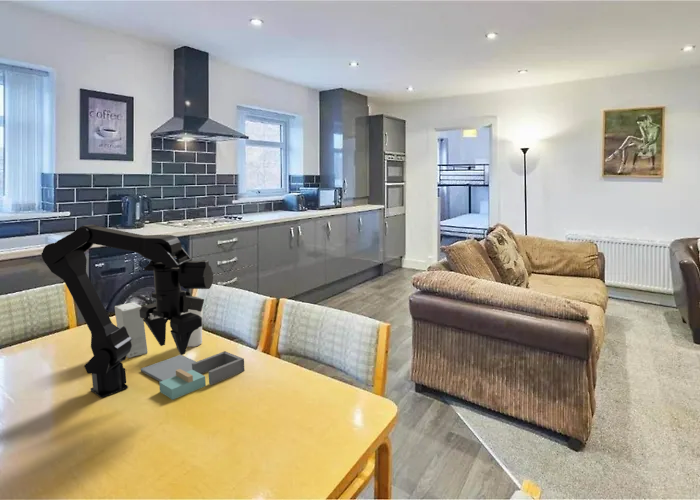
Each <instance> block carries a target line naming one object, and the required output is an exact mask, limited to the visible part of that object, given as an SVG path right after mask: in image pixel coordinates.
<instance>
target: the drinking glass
mask: <svg viewBox="0 0 700 500" xmlns="http://www.w3.org/2000/svg"><path fill="white" fill-rule="evenodd" d="M197 297H198V298H201V299H203V298H202V297H200V296H197ZM203 308H204V306H203V307H202V311H201V312H200V311H197V310H190V309H188V312H185V313H181V315H183V314H186V313H190V312H191V313H194V314H196V315H199V316H200V317H202V319H203V317H204V316H203V314H204V310H203ZM201 344H203V325H202V326H201V327H199V328H198V329H196V330H194V331H193V332H192V334H191V336H190V339H189V342H188V345H187V347H190V348H192V347H193V348H194V347H198V346H200V345H201Z"/></svg>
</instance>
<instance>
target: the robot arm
mask: <svg viewBox="0 0 700 500" xmlns="http://www.w3.org/2000/svg"><path fill="white" fill-rule="evenodd" d="M93 245H97V246H98V245H99V246H104V247H108V248H109V247H110V248H113V249H119V250H124V251H129V252H134V253H136V254H138V255H140V256H142V257H143V258H144V259H148V260H150V261H149V263H148V264H147V265H146V266H145V267H144V268H143V270H144V271H146V272H150V271H151V272H153V281H154V282H153V283H154V292H151V298H153V299H155V302H154V303H149V304H145V305H142V308H141V309H140V310H139V311H140V317H141V318H143V321H144V324H145V325H146V326H147V328H148V329H149V331H150V332H151V333H152V335H153V337H154V338H155V340H156V341H157V343H158V345H159V346H160V347H162V346H165V345H166V335H167V333H166V331H167V323H168V321H170V322H169V327H170V329H171V330H170V331H169V332H170V334H171V336H172V339H173V341H174V343H175V345H176V349H177V351H178V353H179V355H183V356H184V355H185V354H186V352H187V349H188V348H187V347H188V346H187V345H188V342H189V339H190V336H191V334H192V332H193V331H194V330H196V329H198V328H199V327H201V326H202V327H203V318H202V317H200V316H199V315H196V314H194V313H191V312H190V313H186V314H183V315H181V313H185V312H188V309H190V310H197V311H200V312H201V311H202V307H203V308H204V302H205V299H204V298H202V297H201V298H202V299H201V298H198V297H199V296H192V295H191V292H190V291H187V290H191V289H192V290H210V289H211V288H212V286H213V282H214V272H213V270H212V267H211V266H210V264H209V262H210V261H209V260H208V259H206V260H205V259H204V260H202V259H201V260H193V259H192V258H191V256H190V255H189V254H188V252H187V251H186V250H185V249H184V247H183V246H182V243H181V241H180V240H179V238H178V237H177V236H175V235H173V234H151V235H150V234H145V235H144V234H140V233H133V232H129V231H125V230H118V229H114V228H109V227H103V226H99V225H97V224H87V225H82V226H81V225H80V226H79V227H78V228H76V229H75V230H74V231H73V232H71V233H70V234H68V235H66V236H64V237H62V238H61V239H60V238H59V239H58V240H57V241H55V242H52V243H48V244H47V245H45V246H44V247H43V249H42V252H41V259H42V260H43V262H44V264H45V265H46V266H47V268H48V269H49V271H50V272H51V273H53V274H54V276H56V277H58V278H60V279H61V280H62V281H63V282H64V284H65V285H66V287H67V289H68V291H69V294H70V295H71V297H72V299H73V300H74V302H75V305H76V307H77V309H78V310H79V312H80V314H81V316H82V318H83V320H84V322H85V323H86V326H87V327H88V329H89V332H90V334H91V336H90V337H91V339H90V349H91V351H92V354H93V356H92V357H91V358H90V359H89V360H88V361H87V362H86V363H85V364H84V365H83V366H84V367H83V368H84V370H85V372H86V373H87V374H90V375H91V381H92V387H90V391H91V392H92V393H94V394H95V395H96V396H98V397H99V398H101V399H102V398H105V397H108V396H110V395H113V394H115V393H118V392H121V391H124V390H126V389H128V388H129V385H127V374H126V373H127V372H126V368H125V367H124V363H122V362H124V361H125V360H126V358H127V354H128V353H129V352H130V350H131V347H132V344H131V340H132V338H131V337H130V336H129V335H128V333H127V330H126V328H125V327H124V326H123V327H121V328H118V327H117V325H115V324H114V323H113V321H112V319H111V318H110V316H109V314H108V312H107V310H106V308H105V307H104V304H103V303H102V301H101V299H100V297H99V295H98V293H97V291H96V289H95V287H94V284H93V283H92V281H91V279H90V277H89V275H88V273H87V262H88V261H87V260H88V259H87V256H86V254H85V252H87V251H88V250H90V249H91V248H92V247H93ZM175 258H176V259H175ZM182 288H183V289H186V290H182Z"/></svg>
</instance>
